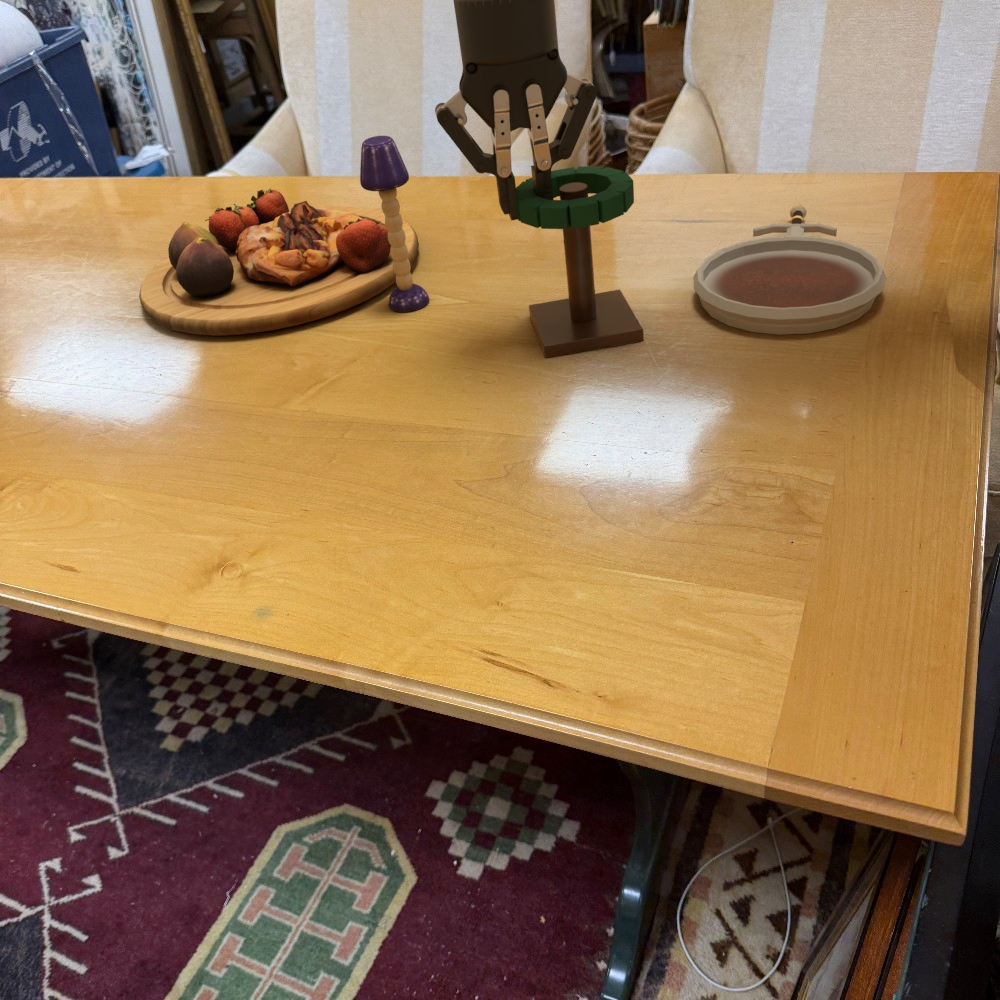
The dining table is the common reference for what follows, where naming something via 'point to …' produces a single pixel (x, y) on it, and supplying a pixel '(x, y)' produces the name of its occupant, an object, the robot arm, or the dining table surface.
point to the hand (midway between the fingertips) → (528, 213)
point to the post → (583, 301)
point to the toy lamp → (392, 215)
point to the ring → (561, 214)
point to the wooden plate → (270, 267)
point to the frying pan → (789, 280)
